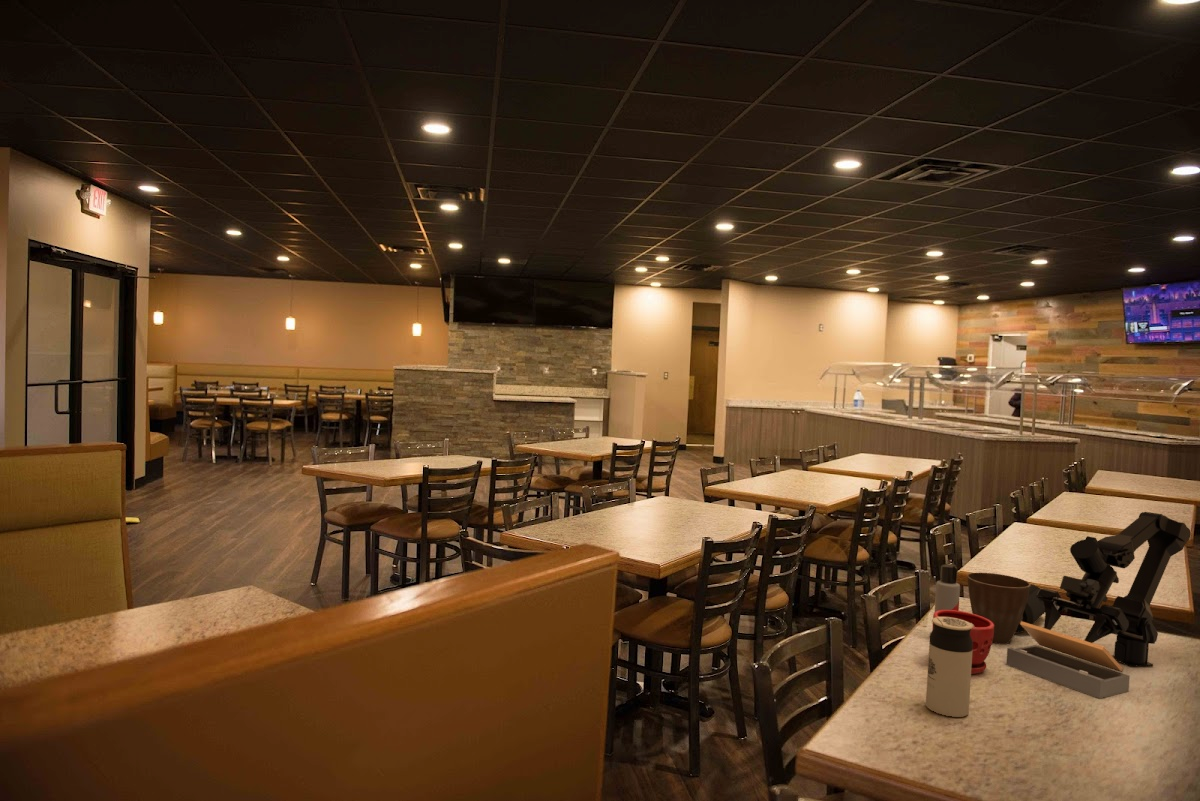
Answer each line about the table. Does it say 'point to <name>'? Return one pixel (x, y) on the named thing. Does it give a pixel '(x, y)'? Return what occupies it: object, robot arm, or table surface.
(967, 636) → the travel mug
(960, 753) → the table surface
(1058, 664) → the grey rectangular tray
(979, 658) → the plant pot
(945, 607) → the lotion bottle
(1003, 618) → the plant pot
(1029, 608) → the portable speaker
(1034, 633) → the cover
